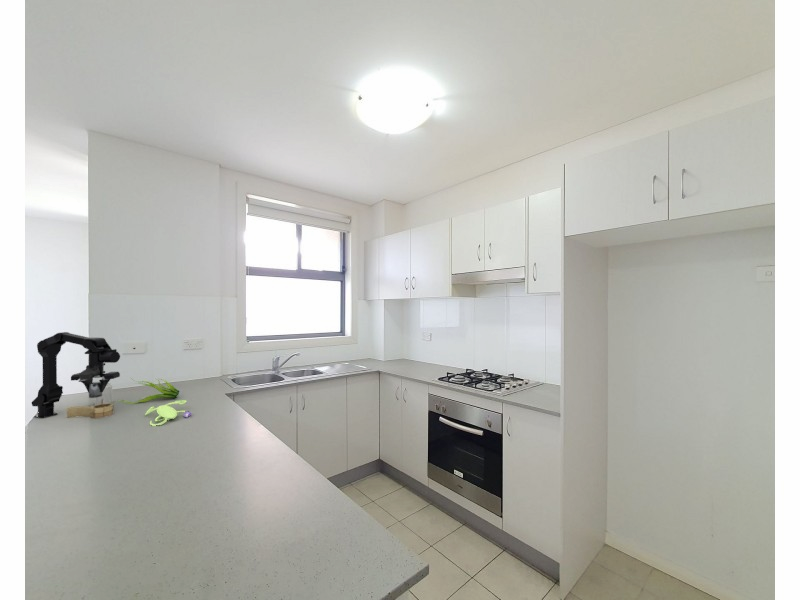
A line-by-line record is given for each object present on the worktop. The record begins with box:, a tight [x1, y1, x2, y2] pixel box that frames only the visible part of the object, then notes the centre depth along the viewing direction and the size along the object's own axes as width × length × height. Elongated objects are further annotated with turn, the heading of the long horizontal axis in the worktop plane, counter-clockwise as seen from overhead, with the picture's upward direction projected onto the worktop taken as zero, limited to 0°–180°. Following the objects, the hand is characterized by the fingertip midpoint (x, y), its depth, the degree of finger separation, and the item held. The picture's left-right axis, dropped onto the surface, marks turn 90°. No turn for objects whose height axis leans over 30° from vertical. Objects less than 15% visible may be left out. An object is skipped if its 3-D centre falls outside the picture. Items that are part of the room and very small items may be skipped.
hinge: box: [66, 399, 115, 419], centre depth 171 cm, size 18×16×5 cm
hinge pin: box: [88, 381, 102, 399], centre depth 167 cm, size 5×5×7 cm
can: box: [93, 382, 113, 406], centre depth 187 cm, size 8×8×12 cm
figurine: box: [144, 399, 193, 427], centre depth 170 cm, size 18×27×6 cm
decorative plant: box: [110, 377, 180, 404], centre depth 194 cm, size 18×30×15 cm, turn 93°
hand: (95, 392), depth 168 cm, fingers closed on hinge pin, 5 cm apart
